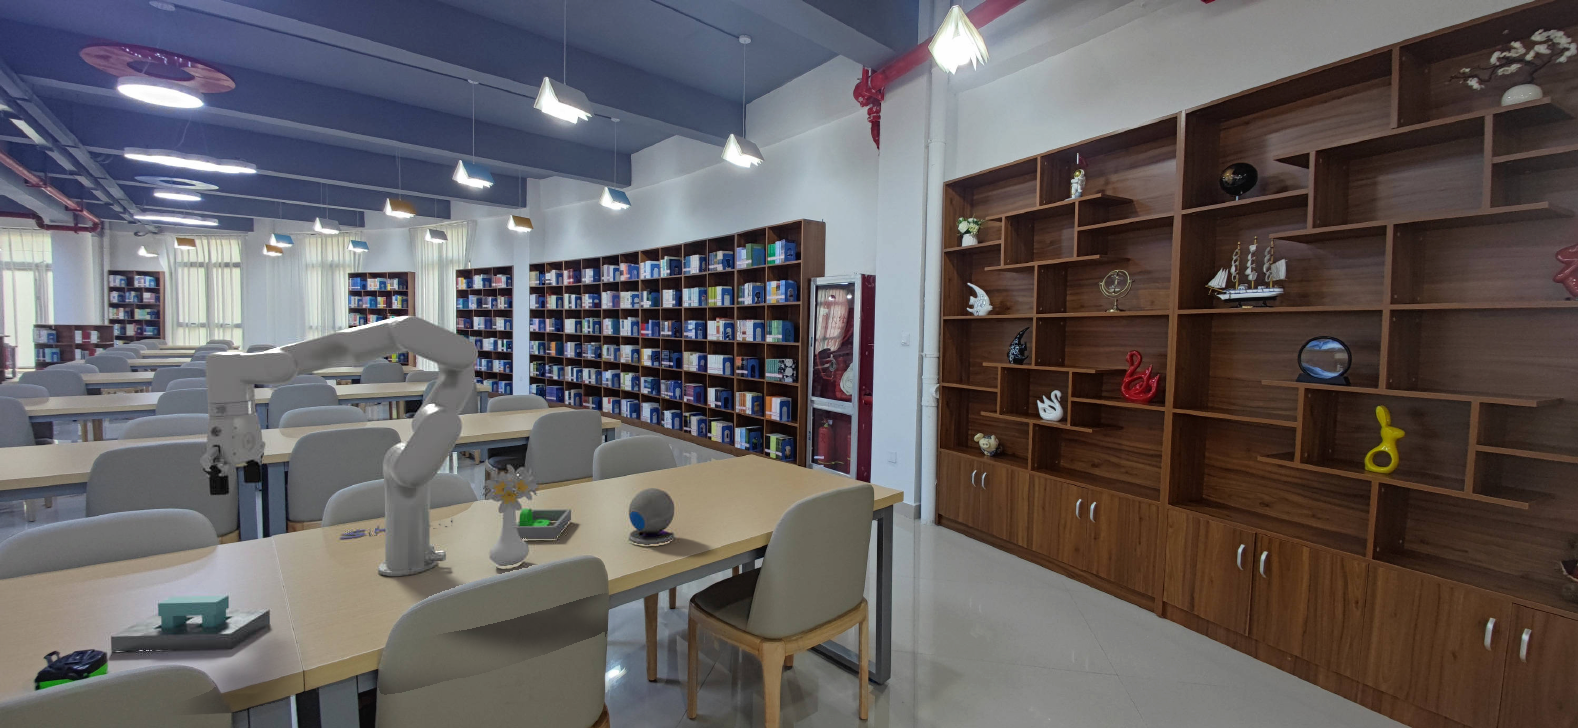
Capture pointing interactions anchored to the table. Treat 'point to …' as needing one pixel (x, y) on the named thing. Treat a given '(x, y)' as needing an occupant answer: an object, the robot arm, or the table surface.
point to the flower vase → (509, 513)
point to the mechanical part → (527, 519)
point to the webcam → (651, 517)
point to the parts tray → (545, 531)
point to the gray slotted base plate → (191, 633)
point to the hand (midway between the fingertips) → (237, 488)
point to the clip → (193, 610)
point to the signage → (358, 533)
